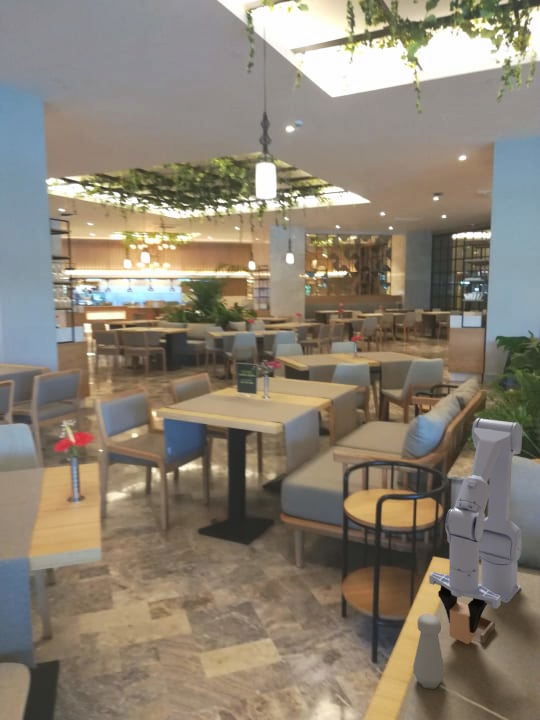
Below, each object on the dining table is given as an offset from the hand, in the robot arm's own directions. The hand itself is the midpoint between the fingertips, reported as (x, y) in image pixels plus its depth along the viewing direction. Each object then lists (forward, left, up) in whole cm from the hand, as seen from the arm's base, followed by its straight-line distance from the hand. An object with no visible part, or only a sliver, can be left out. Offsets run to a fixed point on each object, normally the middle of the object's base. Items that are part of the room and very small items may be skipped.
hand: (462, 625), depth 112 cm
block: (0, 0, -2) cm, 2 cm away
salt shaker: (+15, 0, -4) cm, 16 cm away
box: (-5, 0, -4) cm, 6 cm away
